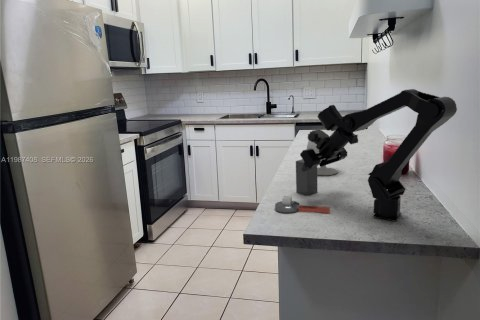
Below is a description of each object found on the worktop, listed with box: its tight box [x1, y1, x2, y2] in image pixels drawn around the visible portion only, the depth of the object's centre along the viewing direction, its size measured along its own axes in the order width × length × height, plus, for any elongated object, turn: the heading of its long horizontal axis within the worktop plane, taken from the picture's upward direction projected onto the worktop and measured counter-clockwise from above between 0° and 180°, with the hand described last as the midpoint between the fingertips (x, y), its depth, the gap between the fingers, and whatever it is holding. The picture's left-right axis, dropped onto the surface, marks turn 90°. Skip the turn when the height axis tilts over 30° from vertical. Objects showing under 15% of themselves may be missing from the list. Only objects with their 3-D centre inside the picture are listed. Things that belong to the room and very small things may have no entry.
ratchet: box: [274, 195, 331, 215], centre depth 117 cm, size 18×8×4 cm, turn 70°
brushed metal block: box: [295, 158, 318, 197], centre depth 133 cm, size 5×5×12 cm
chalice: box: [306, 135, 339, 176], centre depth 158 cm, size 14×14×15 cm
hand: (311, 168), depth 130 cm, fingers open, 9 cm apart
